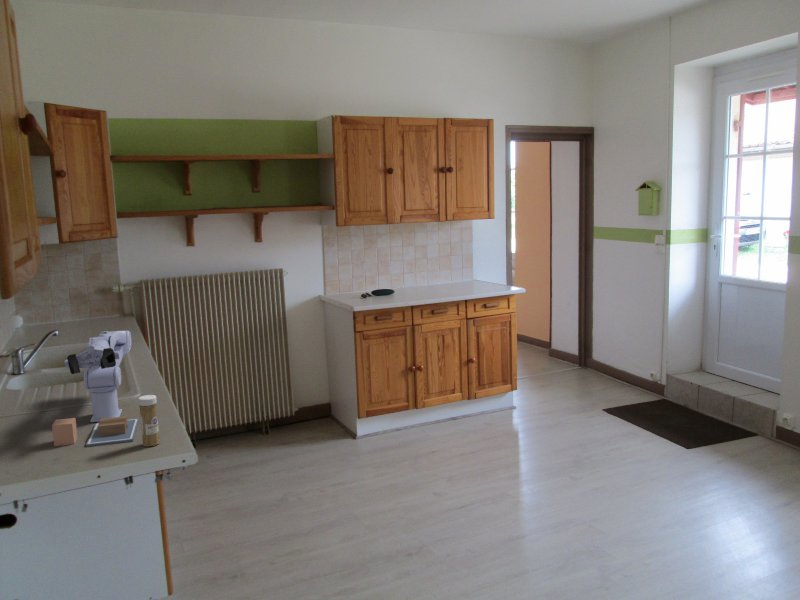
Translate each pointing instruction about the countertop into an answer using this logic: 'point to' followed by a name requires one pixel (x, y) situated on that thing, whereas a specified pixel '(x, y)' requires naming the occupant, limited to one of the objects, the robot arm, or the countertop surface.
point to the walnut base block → (112, 426)
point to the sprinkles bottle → (149, 420)
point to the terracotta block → (64, 431)
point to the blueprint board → (112, 439)
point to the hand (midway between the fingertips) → (87, 367)
